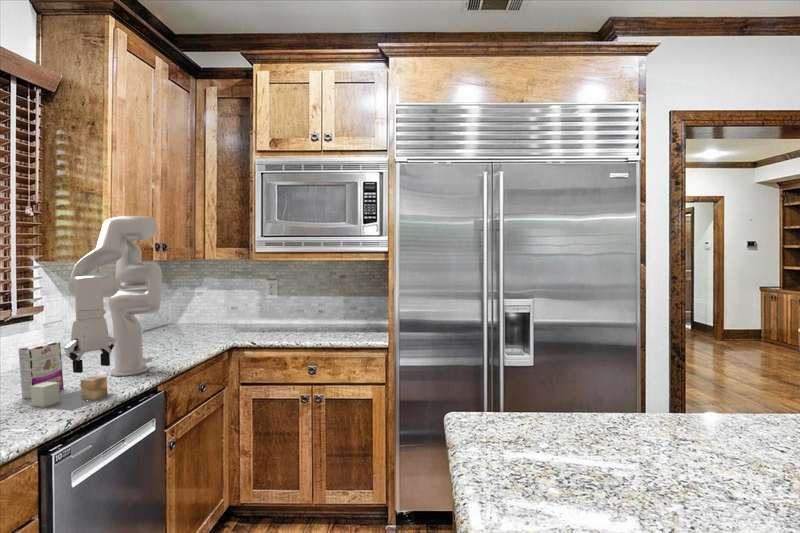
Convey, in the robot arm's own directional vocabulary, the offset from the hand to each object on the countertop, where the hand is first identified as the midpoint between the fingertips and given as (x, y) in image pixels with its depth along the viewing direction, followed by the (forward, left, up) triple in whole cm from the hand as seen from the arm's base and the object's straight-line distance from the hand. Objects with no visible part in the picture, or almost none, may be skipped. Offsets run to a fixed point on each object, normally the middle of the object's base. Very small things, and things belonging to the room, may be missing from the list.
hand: (92, 369), depth 155 cm
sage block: (+8, -9, -9) cm, 16 cm away
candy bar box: (0, -21, -10) cm, 23 cm away
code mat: (+3, -4, -9) cm, 11 cm away
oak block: (-1, 0, -9) cm, 9 cm away
